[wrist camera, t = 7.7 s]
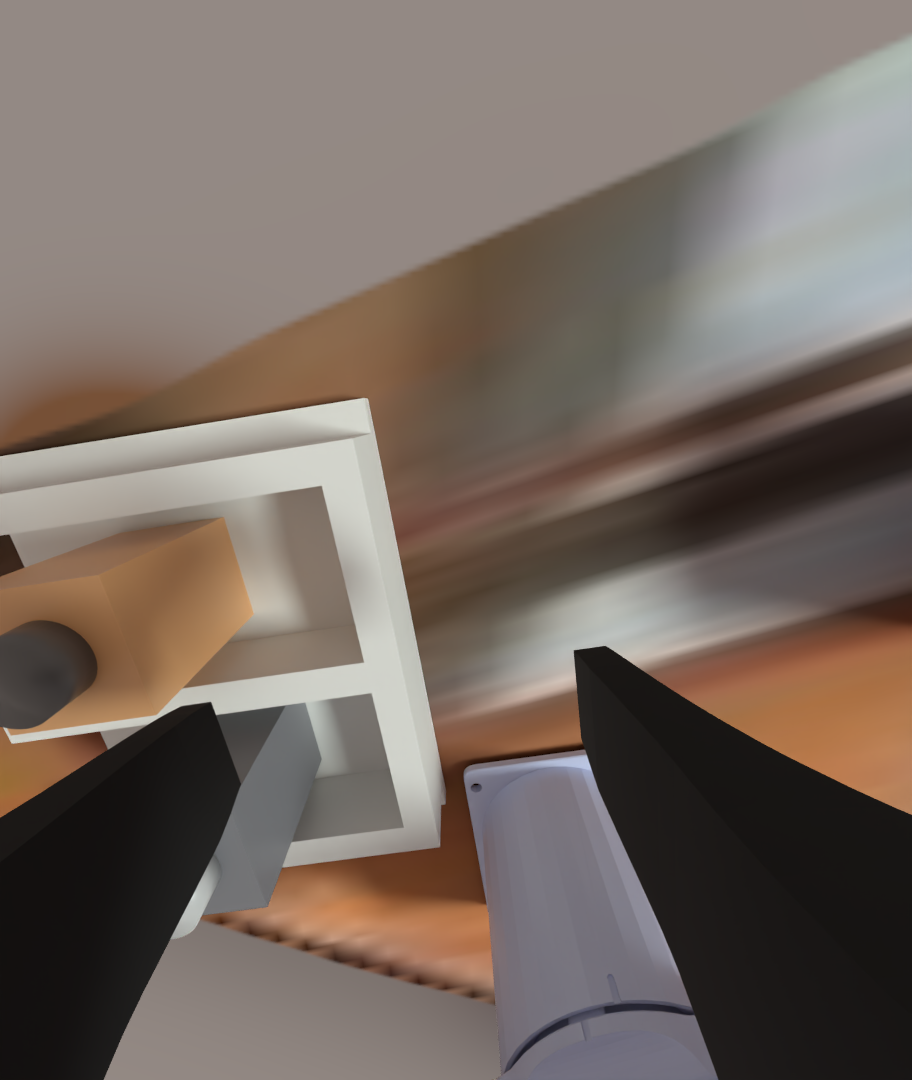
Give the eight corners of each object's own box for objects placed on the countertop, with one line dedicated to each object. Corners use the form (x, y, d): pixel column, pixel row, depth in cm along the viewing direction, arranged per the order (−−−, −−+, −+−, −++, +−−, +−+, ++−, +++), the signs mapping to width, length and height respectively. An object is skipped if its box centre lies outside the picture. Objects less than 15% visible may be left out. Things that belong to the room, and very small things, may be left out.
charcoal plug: (321, 759, 19) (250, 952, 12) (233, 771, 19) (114, 969, 12) (299, 681, 18) (206, 847, 11) (205, 694, 18) (57, 866, 11)
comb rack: (445, 789, 21) (445, 869, 17) (162, 827, 21) (102, 913, 18) (367, 398, 16) (343, 394, 12) (-3, 458, 16) (-133, 471, 13)
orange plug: (253, 614, 17) (123, 748, 10) (156, 628, 17) (-38, 771, 10) (223, 516, 16) (54, 595, 9) (119, 533, 16) (-125, 621, 9)
